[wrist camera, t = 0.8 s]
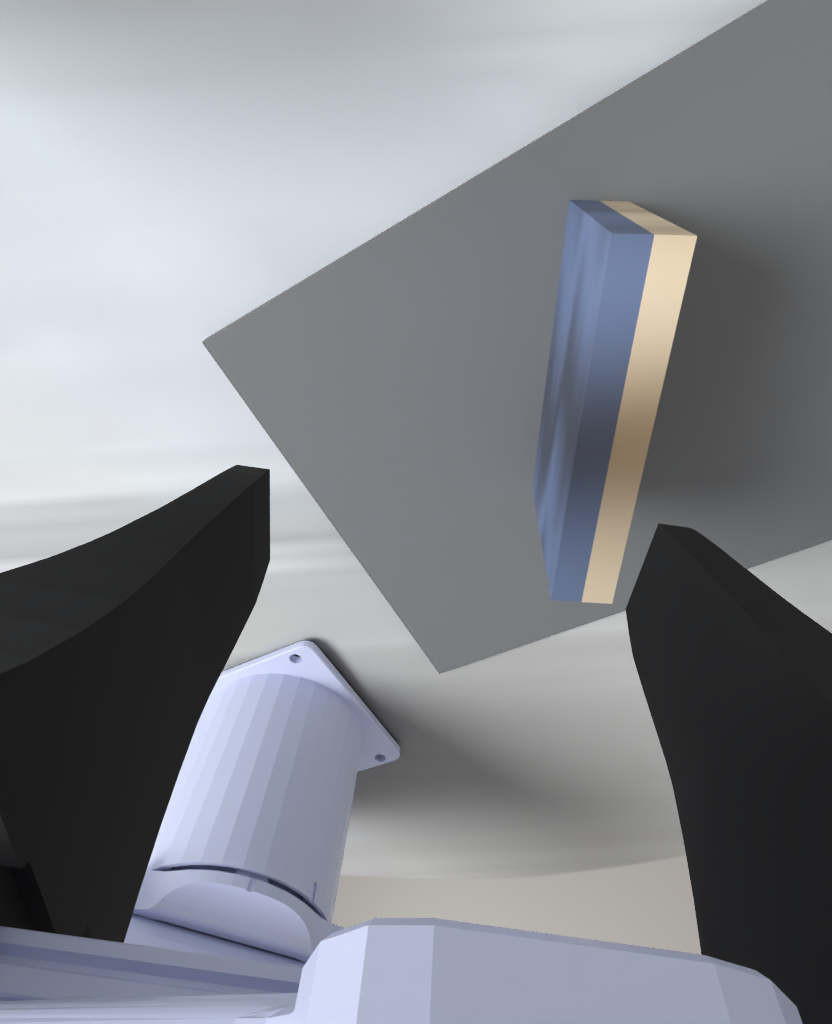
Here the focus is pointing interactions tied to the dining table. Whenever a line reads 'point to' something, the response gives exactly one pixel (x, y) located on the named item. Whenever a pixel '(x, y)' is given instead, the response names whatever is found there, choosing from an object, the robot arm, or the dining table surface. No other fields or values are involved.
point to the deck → (604, 387)
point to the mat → (528, 332)
